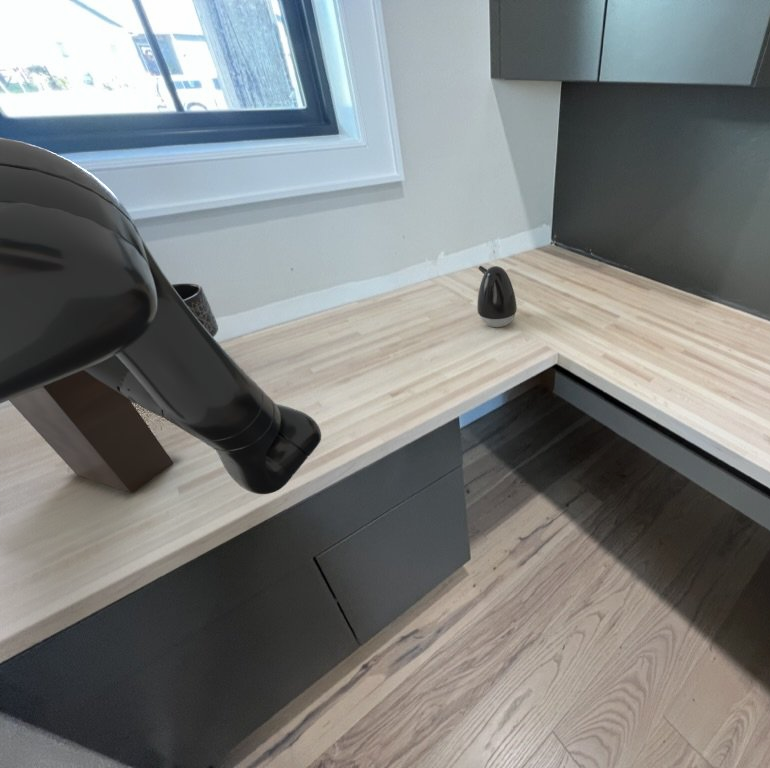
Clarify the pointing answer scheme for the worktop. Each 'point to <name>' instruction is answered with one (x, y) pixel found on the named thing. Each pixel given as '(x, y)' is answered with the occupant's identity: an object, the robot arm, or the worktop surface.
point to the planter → (198, 305)
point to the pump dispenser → (496, 297)
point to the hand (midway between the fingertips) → (30, 295)
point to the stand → (95, 431)
